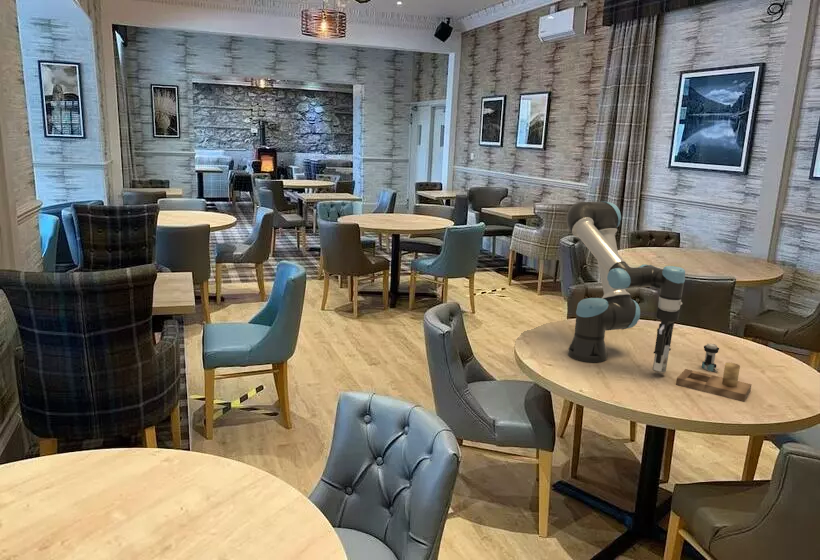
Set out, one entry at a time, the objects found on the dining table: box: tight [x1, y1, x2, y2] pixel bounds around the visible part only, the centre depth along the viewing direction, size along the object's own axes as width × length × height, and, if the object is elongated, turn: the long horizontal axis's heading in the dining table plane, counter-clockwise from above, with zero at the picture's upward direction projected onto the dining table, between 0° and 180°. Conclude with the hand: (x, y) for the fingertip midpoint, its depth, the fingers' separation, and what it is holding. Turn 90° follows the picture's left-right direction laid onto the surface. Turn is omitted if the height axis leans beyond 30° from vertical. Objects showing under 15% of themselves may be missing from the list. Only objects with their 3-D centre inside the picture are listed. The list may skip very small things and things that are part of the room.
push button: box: [701, 343, 720, 373], centre depth 231 cm, size 7×5×10 cm
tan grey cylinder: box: [652, 344, 671, 373], centre depth 223 cm, size 5×5×10 cm
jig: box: [675, 362, 752, 402], centre depth 213 cm, size 22×12×10 cm, turn 52°
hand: (659, 368), depth 224 cm, fingers closed on tan grey cylinder, 5 cm apart
